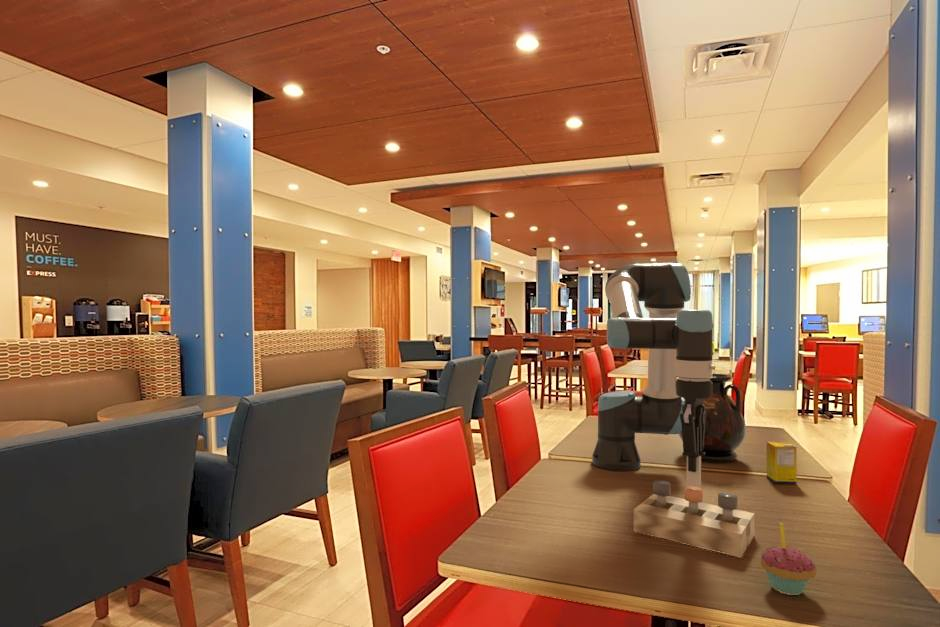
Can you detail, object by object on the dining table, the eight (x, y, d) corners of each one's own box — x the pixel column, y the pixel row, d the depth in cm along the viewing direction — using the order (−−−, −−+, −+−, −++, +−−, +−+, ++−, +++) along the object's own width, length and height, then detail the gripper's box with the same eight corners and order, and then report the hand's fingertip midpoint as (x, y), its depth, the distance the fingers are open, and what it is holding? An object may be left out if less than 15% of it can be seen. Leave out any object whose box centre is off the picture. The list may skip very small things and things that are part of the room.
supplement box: (786, 478, 161) (787, 441, 161) (797, 484, 155) (797, 446, 155) (765, 477, 162) (766, 441, 162) (775, 484, 156) (775, 446, 156)
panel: (633, 531, 122) (633, 509, 122) (654, 513, 133) (654, 492, 133) (741, 559, 108) (741, 534, 108) (754, 535, 119) (754, 513, 119)
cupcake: (750, 578, 100) (750, 513, 100) (793, 576, 101) (794, 512, 101) (780, 603, 92) (781, 532, 92) (827, 601, 93) (828, 531, 93)
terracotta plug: (682, 511, 120) (682, 489, 120) (687, 507, 123) (687, 485, 123) (700, 515, 118) (700, 492, 118) (704, 510, 121) (704, 488, 121)
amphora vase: (754, 456, 185) (754, 374, 185) (733, 470, 169) (734, 380, 169) (690, 446, 199) (690, 370, 199) (666, 457, 184) (666, 375, 184)
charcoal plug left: (650, 505, 124) (650, 483, 124) (656, 500, 127) (656, 479, 127) (667, 508, 122) (667, 486, 122) (672, 503, 125) (672, 482, 125)
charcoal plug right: (716, 519, 116) (716, 496, 116) (720, 514, 119) (720, 491, 119) (735, 523, 114) (735, 499, 114) (739, 518, 117) (739, 494, 117)
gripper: (704, 383, 113) (703, 496, 113) (719, 377, 123) (718, 481, 123) (667, 380, 117) (667, 489, 118) (684, 375, 128) (684, 475, 128)
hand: (693, 484), depth 120 cm, fingers closed
